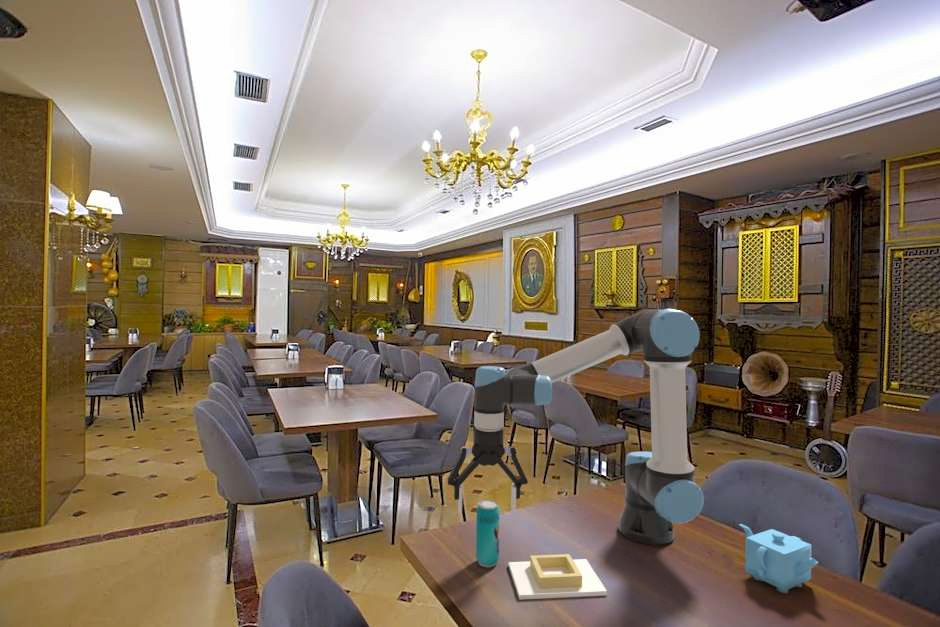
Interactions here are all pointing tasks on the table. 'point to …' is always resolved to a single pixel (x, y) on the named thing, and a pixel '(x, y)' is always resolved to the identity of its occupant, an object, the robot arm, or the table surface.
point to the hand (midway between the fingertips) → (486, 511)
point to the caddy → (555, 577)
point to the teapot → (778, 559)
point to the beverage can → (487, 533)
